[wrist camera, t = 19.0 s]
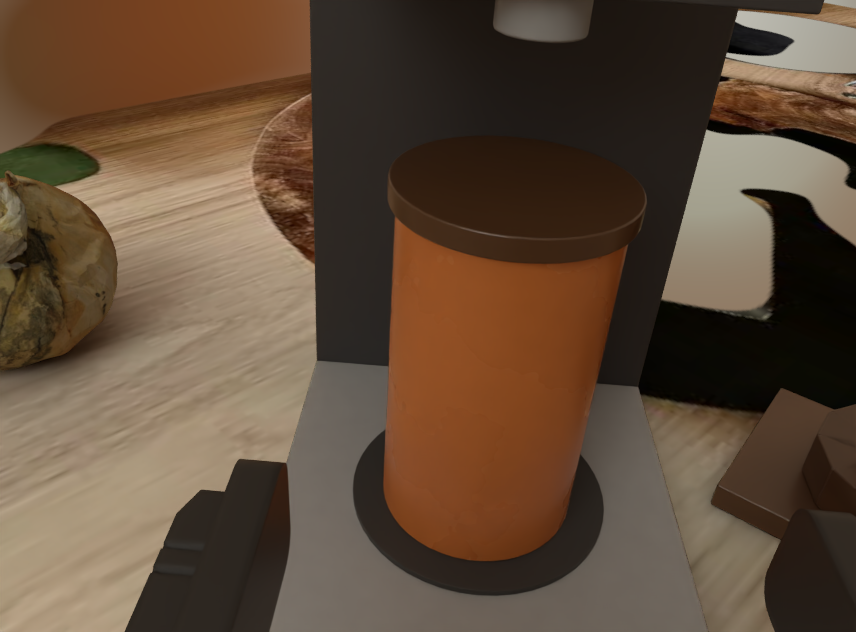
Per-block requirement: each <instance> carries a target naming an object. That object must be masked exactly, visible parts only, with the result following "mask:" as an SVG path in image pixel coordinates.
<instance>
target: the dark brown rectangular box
mask: <svg viewBox="0 0 856 632" xmlns="http://www.w3.org/2000/svg"><path fill="white" fill-rule="evenodd" d="M823 2H824V0H310V36H311V87H312V138H313V189H314V240H315V290H316V341H317V362H316V365H315V368H314V372H313V375H312V378H311V382H310V385H309V388H308V392H307V395H306V399H305V402H304V405H303V409H302V412H301V415H300V419H299V422H298V426H297V429H296V432H295V436H294V439H293V442H292V446H291V449H290V452H289V456H288V459H287V463H286V464H287V469H288V484H289V504H290V523H291V537H290V548H289V555H288V561H287V566H286V570H285V574H284V578H283V582H282V585H281V589H280V593H279V597H278V601H277V605H276V608H275V612H274V616H273V620H272V624H271V628H270V631H269V632H709V631H708V628H707V624H706V621H705V617H704V614H703V610H702V607H701V603H700V600H699V597H698V593H697V590H696V586H695V583H694V579H693V576H692V572H691V569H690V565H689V562H688V558H687V555H686V552H685V548H684V545H683V541H682V538H681V534H680V531H679V527H678V524H677V520H676V517H675V513H674V510H673V506H672V503H671V500H670V496H669V493H668V489H667V486H666V482H665V479H664V475H663V472H662V468H661V465H660V461H659V458H658V454H657V451H656V448H655V444H654V441H653V437H652V434H651V430H650V427H649V423H648V420H647V416H646V413H645V409H644V406H643V402H642V399H641V396H640V392H639V389H638V384H639V380H640V376H641V373H642V369H643V365H644V361H645V358H646V354H647V350H648V346H649V343H650V339H651V335H652V331H653V328H654V324H655V320H656V316H657V313H658V309H659V305H660V301H661V298H662V294H663V290H664V286H665V282H666V279H667V275H668V271H669V268H670V264H671V260H672V256H673V252H674V249H675V245H676V241H677V237H678V234H679V230H680V226H681V222H682V219H683V215H684V211H685V207H686V204H687V199H688V196H689V192H690V189H691V185H692V181H693V177H694V174H695V170H696V166H697V162H698V159H699V155H700V151H701V147H702V144H703V140H704V136H705V132H706V129H707V125H708V121H709V117H710V114H711V110H712V106H713V102H714V99H715V95H716V91H717V87H718V84H719V80H720V76H721V72H722V69H723V65H724V61H725V57H726V54H727V50H728V46H729V42H730V39H731V35H732V31H733V27H734V24H735V20H736V16H737V12H738V9H752V10H765V11H778V12H791V13H804V14H819V13H820V12H821V9H822V6H823ZM489 135H493V136H512V137H523V138H530V139H537V140H543V141H549V142H554V143H558V144H563V145H566V146H570V147H574V148H577V149H580V150H583V151H586V152H589V153H592V154H594V155H597V156H599V157H602V158H604V159H606V160H608V161H610V162H612V163H614V164H616V165H618V166H619V167H621V168H623V169H624V170H626V171H627V172H628V173H630V174H631V175H632V176H633V177H634V178H635V179H636V180H637V181H638V182H639V183H640V184H641V186H642V187H643V189H644V191H645V194H646V199H647V205H646V209H645V213H644V218H643V222H642V226H641V230H640V231H639V233H638V234H637V236H636V237H635V238H634V239H633V240H632V241H631V242H630V243H629V244H628V247H627V252H626V256H625V260H624V265H623V269H622V274H621V278H620V282H619V287H618V291H617V295H616V300H615V304H614V309H613V313H612V317H611V322H610V326H609V330H608V335H607V339H606V343H605V348H604V352H603V357H602V361H601V365H600V370H599V374H598V378H597V383H596V387H595V392H594V396H593V400H592V405H591V409H590V413H589V418H588V422H587V427H586V431H585V435H584V440H583V444H582V448H581V453H580V457H579V461H578V466H577V470H576V475H575V479H574V483H573V488H572V492H571V496H570V501H569V505H568V509H567V513H566V517H565V519H564V521H563V523H562V526H561V527H560V528H559V530H558V531H557V533H556V534H555V535H554V536H553V537H552V538H551V539H550V540H549V541H548V542H546V543H545V544H543V545H542V546H541V547H539V548H537V549H536V550H534V551H532V552H530V553H527V554H525V555H522V556H519V557H516V558H511V559H507V560H499V561H473V560H465V559H460V558H455V557H452V556H448V555H445V554H442V553H440V552H437V551H435V550H433V549H431V548H429V547H427V546H425V545H423V544H422V543H420V542H418V541H417V540H416V539H414V538H413V537H412V536H410V535H409V534H408V533H407V532H406V531H405V530H404V529H403V528H402V527H401V526H400V525H399V524H398V522H397V521H396V520H395V518H394V517H393V515H392V513H391V512H390V510H389V508H388V505H387V503H386V500H385V495H384V490H383V479H384V455H385V432H386V409H387V385H388V362H389V339H390V315H391V292H392V269H393V245H394V222H395V215H394V213H393V212H392V210H391V209H390V206H389V203H388V200H387V186H388V172H389V169H390V166H391V165H392V163H393V162H394V160H395V159H396V158H398V157H399V156H400V155H401V154H403V153H404V152H406V151H407V150H409V149H412V148H414V147H416V146H419V145H422V144H425V143H428V142H432V141H436V140H441V139H447V138H454V137H463V136H489Z"/></svg>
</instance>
